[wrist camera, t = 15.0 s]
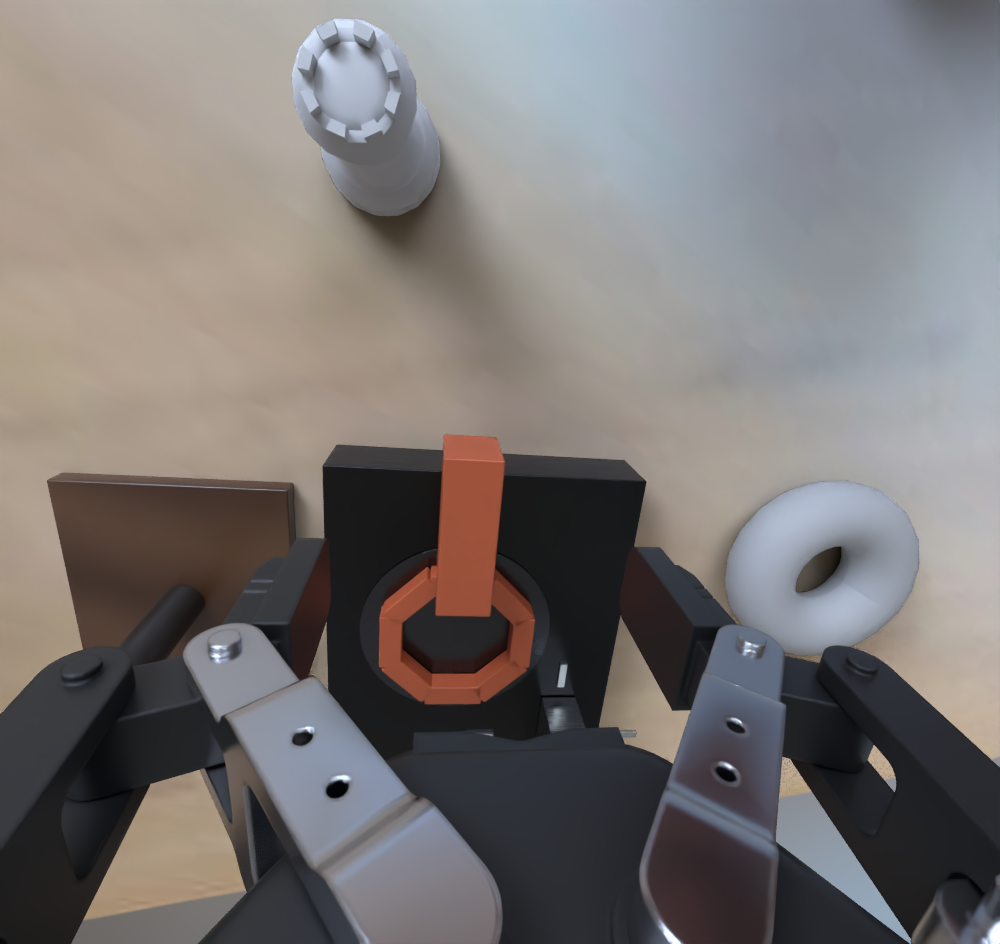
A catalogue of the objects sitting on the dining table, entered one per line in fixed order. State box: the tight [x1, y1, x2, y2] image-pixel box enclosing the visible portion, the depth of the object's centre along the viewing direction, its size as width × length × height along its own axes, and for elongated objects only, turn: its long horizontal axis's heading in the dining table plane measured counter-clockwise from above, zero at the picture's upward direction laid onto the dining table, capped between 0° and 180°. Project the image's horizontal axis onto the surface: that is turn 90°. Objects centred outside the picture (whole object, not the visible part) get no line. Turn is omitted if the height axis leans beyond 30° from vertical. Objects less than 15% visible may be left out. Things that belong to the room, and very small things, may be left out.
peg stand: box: [47, 473, 296, 666], centre depth 20 cm, size 11×10×12 cm
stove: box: [323, 445, 646, 761], centre depth 27 cm, size 19×16×3 cm
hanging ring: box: [379, 435, 535, 704], centre depth 22 cm, size 13×7×3 cm, turn 175°
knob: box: [536, 697, 585, 737], centre depth 25 cm, size 5×2×5 cm, turn 175°
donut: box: [725, 481, 919, 656], centre depth 27 cm, size 10×4×10 cm
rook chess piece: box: [291, 19, 440, 216], centre depth 17 cm, size 4×4×8 cm
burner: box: [360, 548, 550, 706], centre depth 25 cm, size 9×9×1 cm
